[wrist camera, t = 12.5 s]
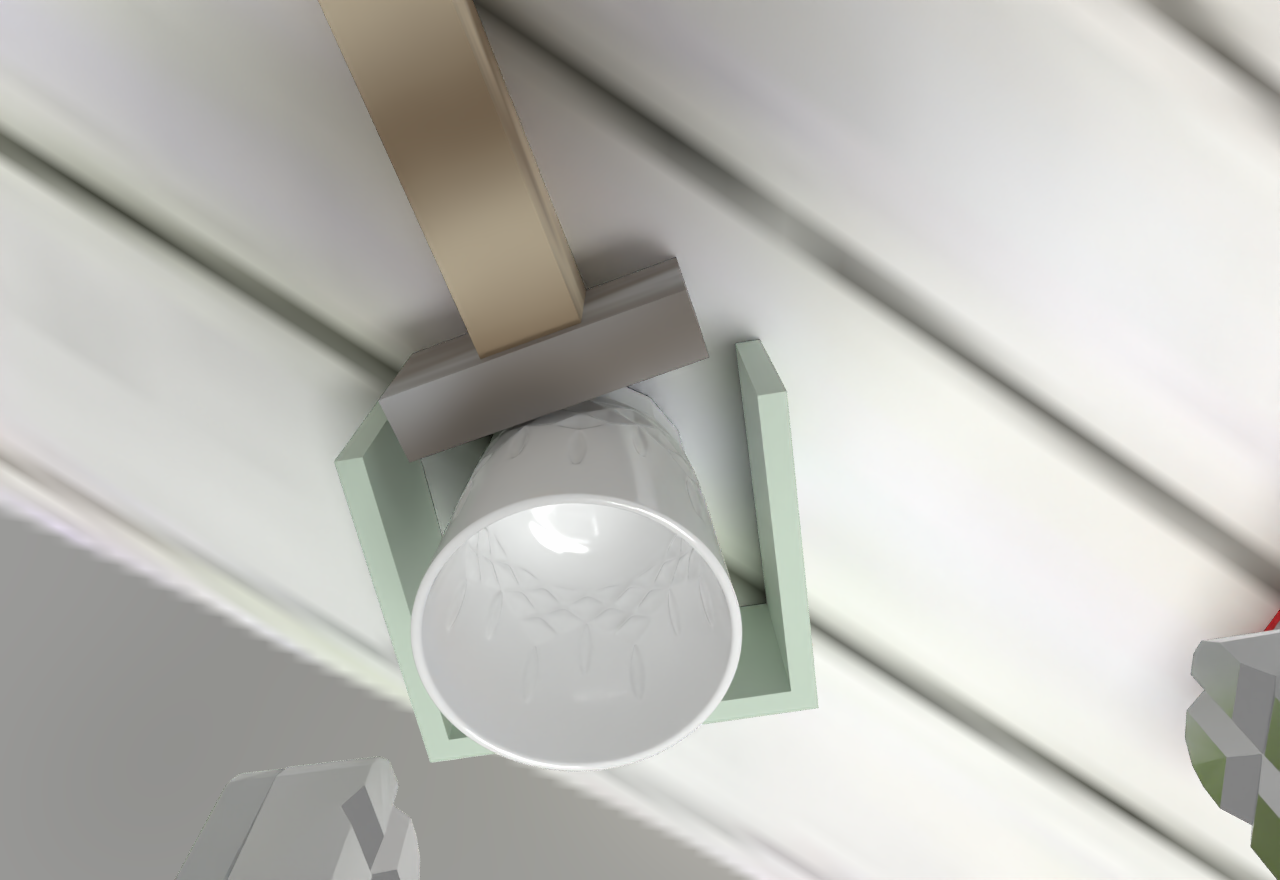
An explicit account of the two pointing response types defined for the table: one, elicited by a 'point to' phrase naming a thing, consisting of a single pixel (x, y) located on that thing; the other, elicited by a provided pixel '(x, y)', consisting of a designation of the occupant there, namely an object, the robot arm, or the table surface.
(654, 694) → the white cup
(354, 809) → the robot arm
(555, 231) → the scraper
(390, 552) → the box
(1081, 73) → the table surface
